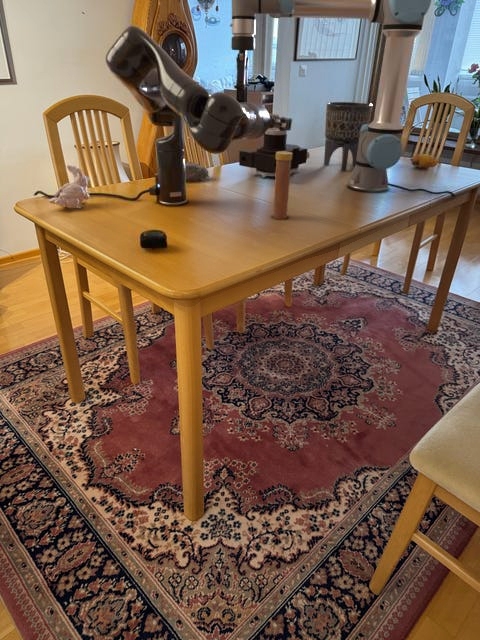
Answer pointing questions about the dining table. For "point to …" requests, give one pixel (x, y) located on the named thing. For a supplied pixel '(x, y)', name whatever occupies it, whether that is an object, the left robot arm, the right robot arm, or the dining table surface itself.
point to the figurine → (72, 190)
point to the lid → (283, 156)
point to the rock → (195, 172)
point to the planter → (344, 129)
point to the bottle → (281, 189)
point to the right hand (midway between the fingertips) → (241, 109)
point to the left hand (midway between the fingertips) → (269, 119)
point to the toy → (424, 161)
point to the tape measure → (153, 239)
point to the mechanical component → (272, 154)
